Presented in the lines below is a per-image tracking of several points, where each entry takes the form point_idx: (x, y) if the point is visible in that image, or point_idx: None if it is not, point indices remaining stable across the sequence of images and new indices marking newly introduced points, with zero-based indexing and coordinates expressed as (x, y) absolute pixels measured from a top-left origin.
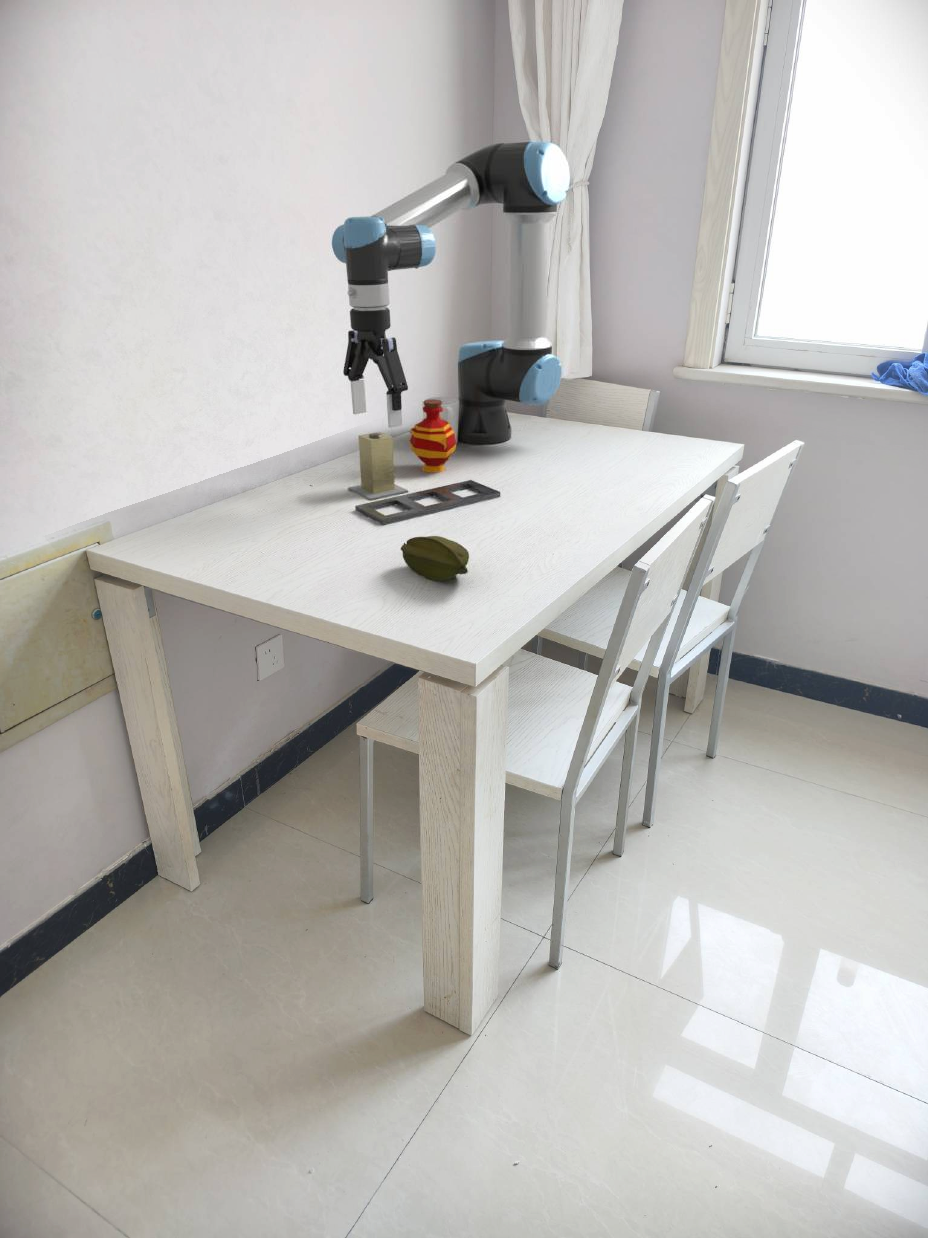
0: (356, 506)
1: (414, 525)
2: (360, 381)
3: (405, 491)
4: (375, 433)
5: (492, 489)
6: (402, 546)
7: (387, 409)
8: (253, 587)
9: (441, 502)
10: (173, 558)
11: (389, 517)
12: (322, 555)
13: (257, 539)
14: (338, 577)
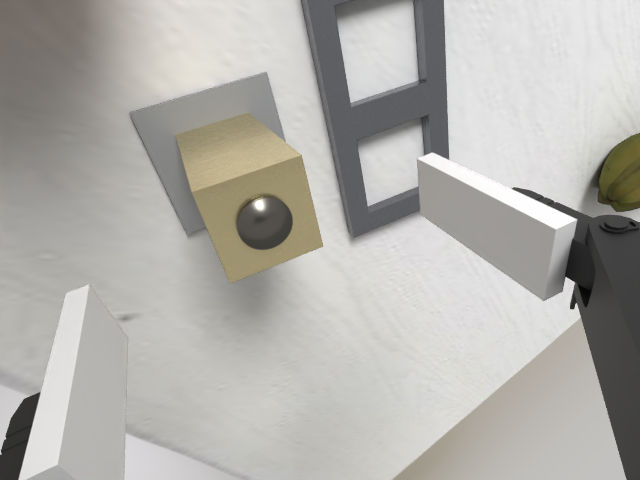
0: (358, 235)
1: (474, 133)
2: (79, 476)
3: (269, 83)
4: (244, 221)
5: None
6: (620, 209)
7: (476, 252)
8: (520, 355)
9: (424, 26)
10: (410, 440)
11: None
12: (493, 292)
13: (401, 372)
14: None
